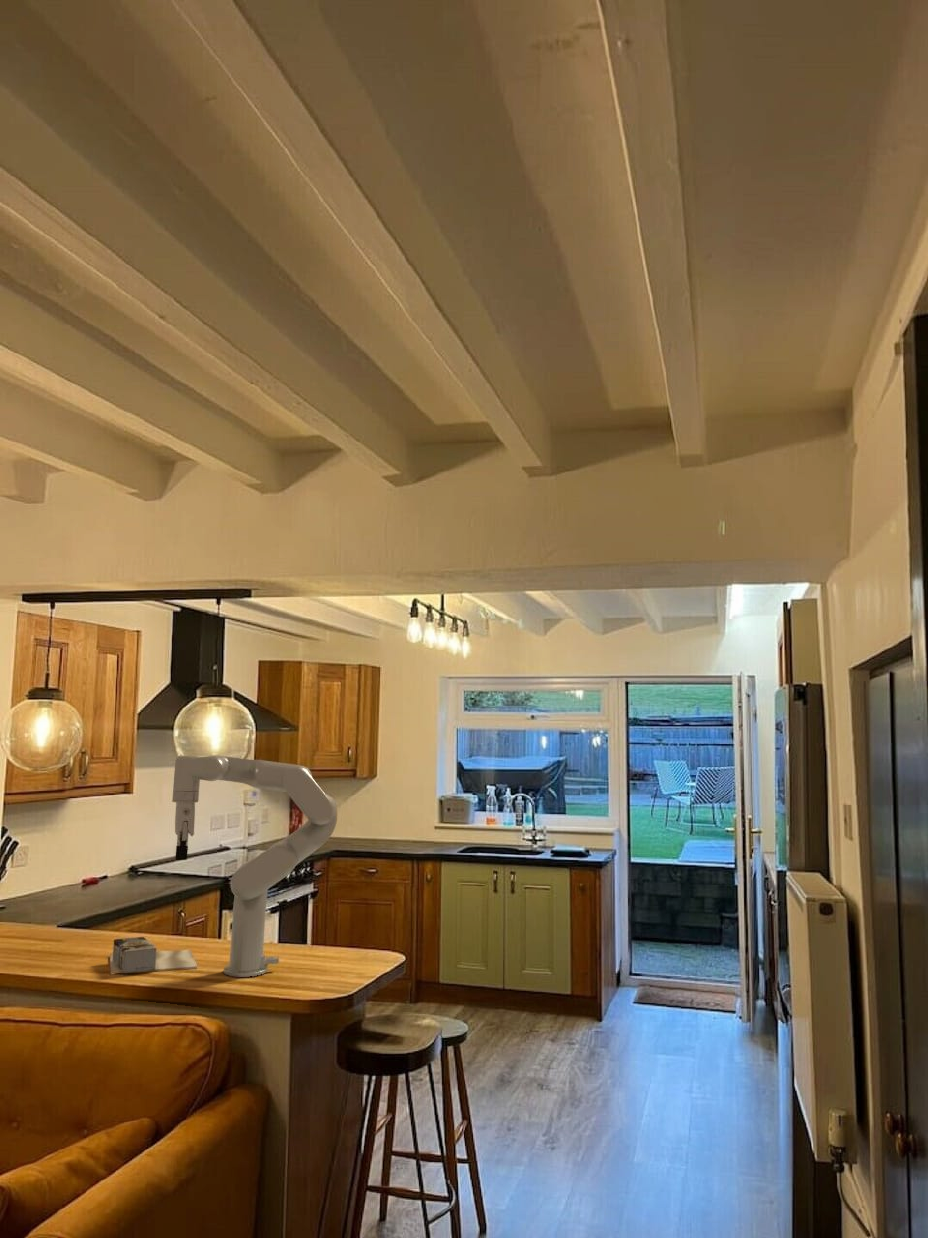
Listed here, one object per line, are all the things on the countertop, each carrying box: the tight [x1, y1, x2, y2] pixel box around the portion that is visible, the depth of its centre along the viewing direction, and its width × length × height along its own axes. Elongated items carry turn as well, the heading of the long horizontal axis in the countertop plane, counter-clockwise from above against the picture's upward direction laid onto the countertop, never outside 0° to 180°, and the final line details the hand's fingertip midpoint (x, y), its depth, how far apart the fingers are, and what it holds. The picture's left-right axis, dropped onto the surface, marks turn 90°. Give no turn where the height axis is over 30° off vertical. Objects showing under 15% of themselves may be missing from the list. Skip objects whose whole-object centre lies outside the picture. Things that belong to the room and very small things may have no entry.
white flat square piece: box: [109, 949, 198, 974], centre depth 265 cm, size 24×22×1 cm
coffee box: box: [112, 936, 157, 974], centre depth 259 cm, size 9×6×16 cm
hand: (181, 859), depth 260 cm, fingers closed
